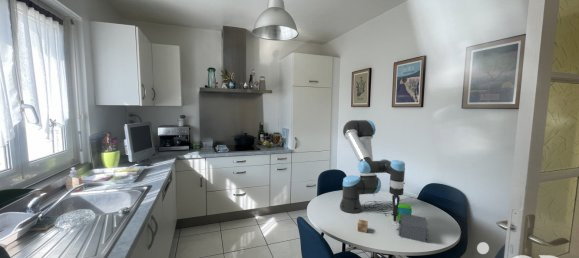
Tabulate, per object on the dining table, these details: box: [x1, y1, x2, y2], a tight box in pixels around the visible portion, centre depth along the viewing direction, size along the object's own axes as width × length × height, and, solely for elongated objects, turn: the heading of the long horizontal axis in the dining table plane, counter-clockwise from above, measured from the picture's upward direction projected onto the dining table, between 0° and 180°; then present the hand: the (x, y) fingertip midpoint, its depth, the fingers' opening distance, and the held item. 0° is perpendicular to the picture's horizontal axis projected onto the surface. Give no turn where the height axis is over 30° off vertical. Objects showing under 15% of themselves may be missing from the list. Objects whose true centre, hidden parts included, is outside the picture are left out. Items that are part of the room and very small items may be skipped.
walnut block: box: [357, 219, 369, 234], centre depth 139 cm, size 5×5×5 cm
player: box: [400, 213, 429, 244], centre depth 135 cm, size 13×14×8 cm
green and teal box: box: [397, 203, 413, 222], centre depth 154 cm, size 10×13×10 cm
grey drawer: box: [397, 219, 401, 236], centre depth 136 cm, size 13×12×5 cm
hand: (394, 225), depth 139 cm, fingers closed
